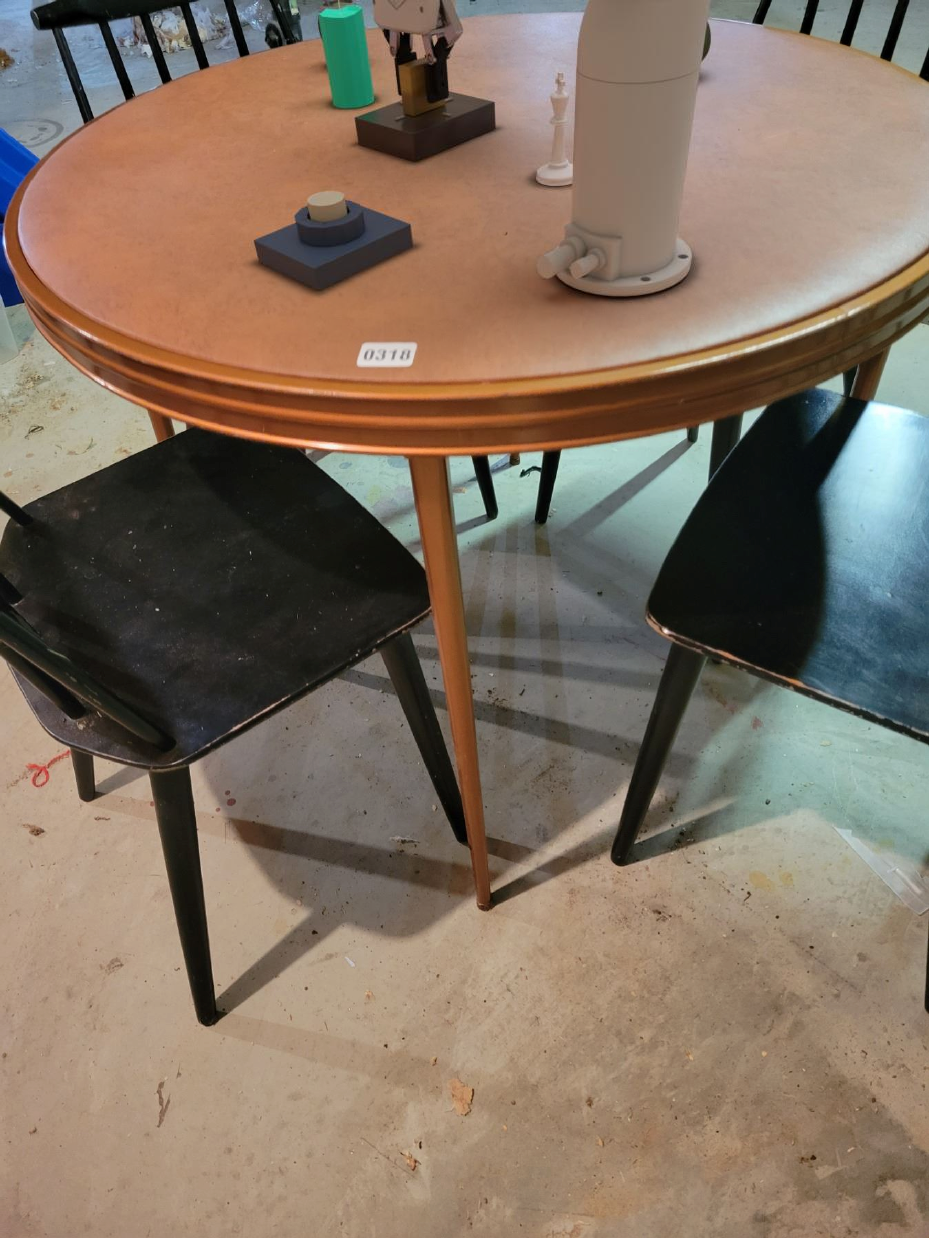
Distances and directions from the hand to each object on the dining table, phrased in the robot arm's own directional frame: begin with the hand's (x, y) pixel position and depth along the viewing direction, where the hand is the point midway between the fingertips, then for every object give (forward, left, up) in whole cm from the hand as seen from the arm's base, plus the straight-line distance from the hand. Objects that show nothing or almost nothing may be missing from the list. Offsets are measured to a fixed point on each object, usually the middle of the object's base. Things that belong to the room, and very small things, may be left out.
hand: (423, 95), depth 95 cm
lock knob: (0, 0, -2) cm, 2 cm away
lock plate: (0, 0, -5) cm, 5 cm away
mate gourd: (+15, +36, -5) cm, 39 cm away
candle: (+4, +20, -5) cm, 21 cm away
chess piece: (-1, -23, -5) cm, 24 cm away
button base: (-29, -18, -5) cm, 34 cm away
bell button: (-29, -18, -1) cm, 34 cm away
